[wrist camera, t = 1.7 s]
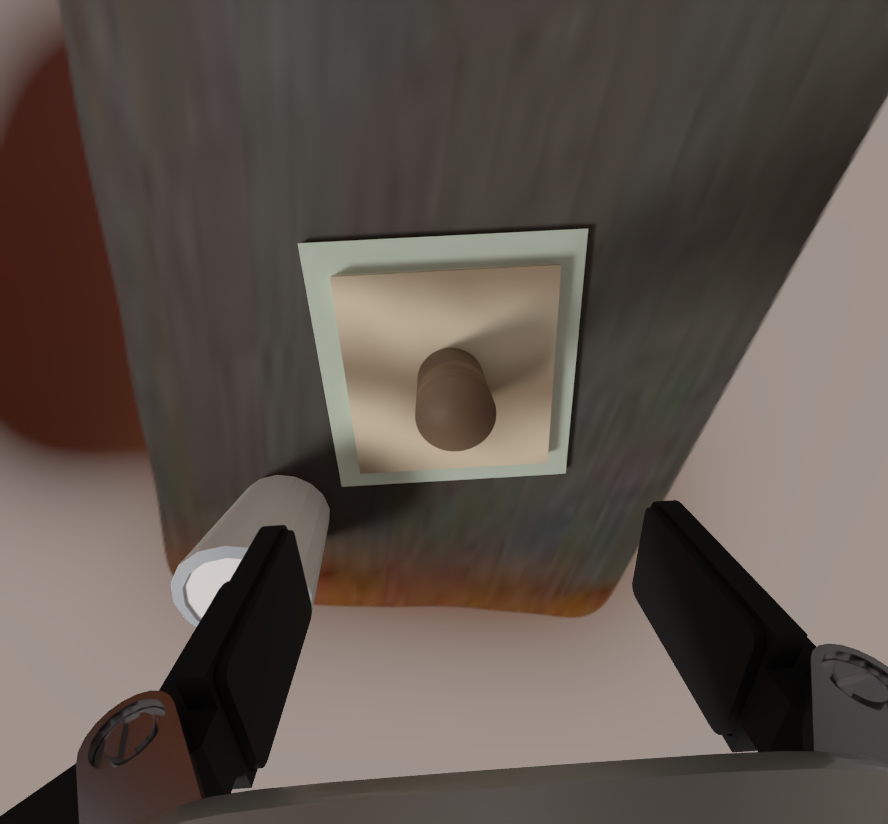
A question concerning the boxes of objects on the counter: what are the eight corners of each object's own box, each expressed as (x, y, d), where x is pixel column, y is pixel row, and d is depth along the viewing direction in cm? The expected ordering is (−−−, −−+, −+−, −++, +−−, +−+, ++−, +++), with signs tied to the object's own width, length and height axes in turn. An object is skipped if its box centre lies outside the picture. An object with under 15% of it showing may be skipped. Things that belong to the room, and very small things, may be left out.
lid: (333, 274, 20) (302, 290, 15) (555, 263, 20) (597, 275, 15) (362, 464, 25) (346, 525, 20) (543, 454, 25) (572, 511, 20)
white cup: (240, 453, 25) (174, 532, 18) (351, 483, 26) (326, 567, 19) (225, 537, 27) (163, 632, 21) (326, 561, 28) (297, 657, 22)
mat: (300, 243, 20) (297, 243, 19) (584, 228, 20) (588, 228, 20) (343, 482, 26) (341, 486, 25) (563, 469, 26) (565, 473, 26)
